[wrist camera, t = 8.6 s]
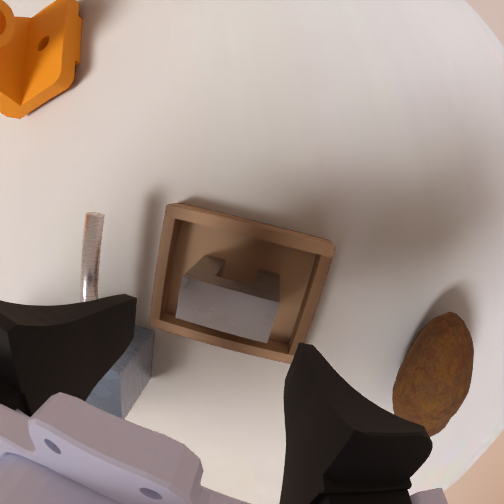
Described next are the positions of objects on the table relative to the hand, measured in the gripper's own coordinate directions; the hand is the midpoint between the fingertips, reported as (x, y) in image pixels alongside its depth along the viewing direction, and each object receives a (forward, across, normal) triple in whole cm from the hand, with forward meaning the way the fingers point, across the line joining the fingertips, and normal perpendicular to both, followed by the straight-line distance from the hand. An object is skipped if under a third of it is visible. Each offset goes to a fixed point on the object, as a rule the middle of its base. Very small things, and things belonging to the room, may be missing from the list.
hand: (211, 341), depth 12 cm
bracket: (+9, +22, -16) cm, 28 cm away
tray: (+8, 0, 0) cm, 8 cm away
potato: (+9, -16, +3) cm, 19 cm away
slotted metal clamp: (+8, 0, 0) cm, 8 cm away
